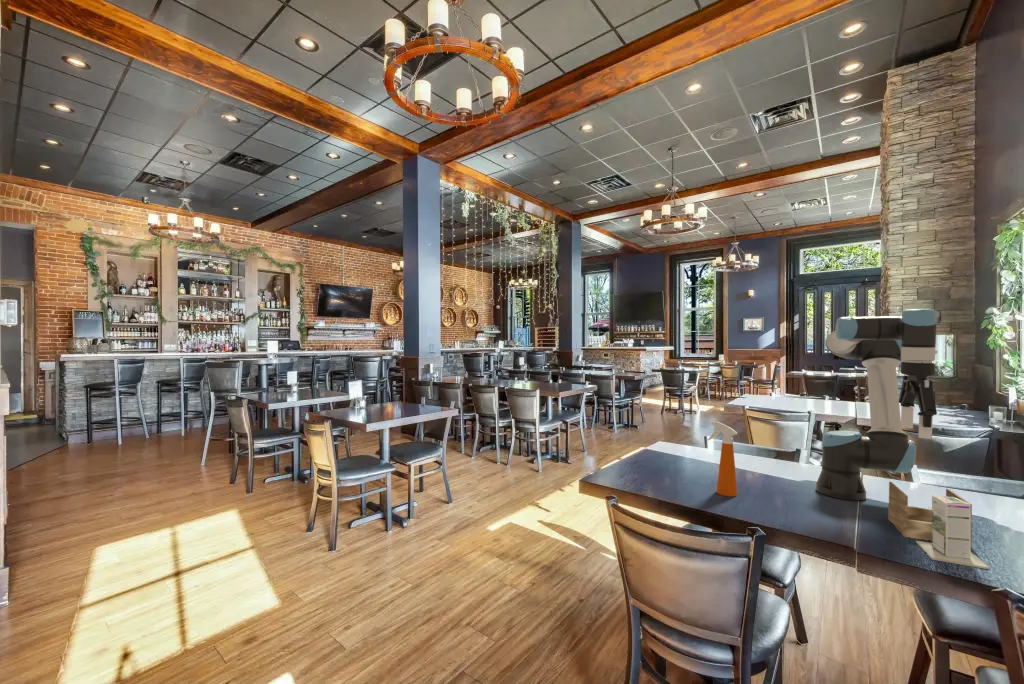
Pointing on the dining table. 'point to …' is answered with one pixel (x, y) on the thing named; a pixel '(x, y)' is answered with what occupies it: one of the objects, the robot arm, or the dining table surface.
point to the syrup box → (951, 526)
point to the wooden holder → (913, 515)
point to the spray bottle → (726, 461)
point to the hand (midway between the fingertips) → (915, 432)
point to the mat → (940, 557)
